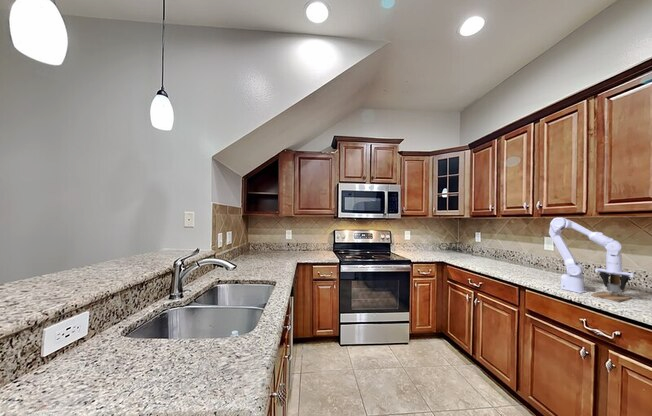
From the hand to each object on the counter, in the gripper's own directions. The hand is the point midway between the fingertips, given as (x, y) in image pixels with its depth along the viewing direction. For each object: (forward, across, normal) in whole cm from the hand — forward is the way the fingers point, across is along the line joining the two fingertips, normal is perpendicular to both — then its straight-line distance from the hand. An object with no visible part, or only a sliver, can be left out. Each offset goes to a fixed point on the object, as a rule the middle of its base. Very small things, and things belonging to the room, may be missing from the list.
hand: (614, 287), depth 141 cm
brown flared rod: (+6, -6, +18) cm, 20 cm away
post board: (+5, -1, -1) cm, 5 cm away
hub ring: (+2, 0, 0) cm, 2 cm away
